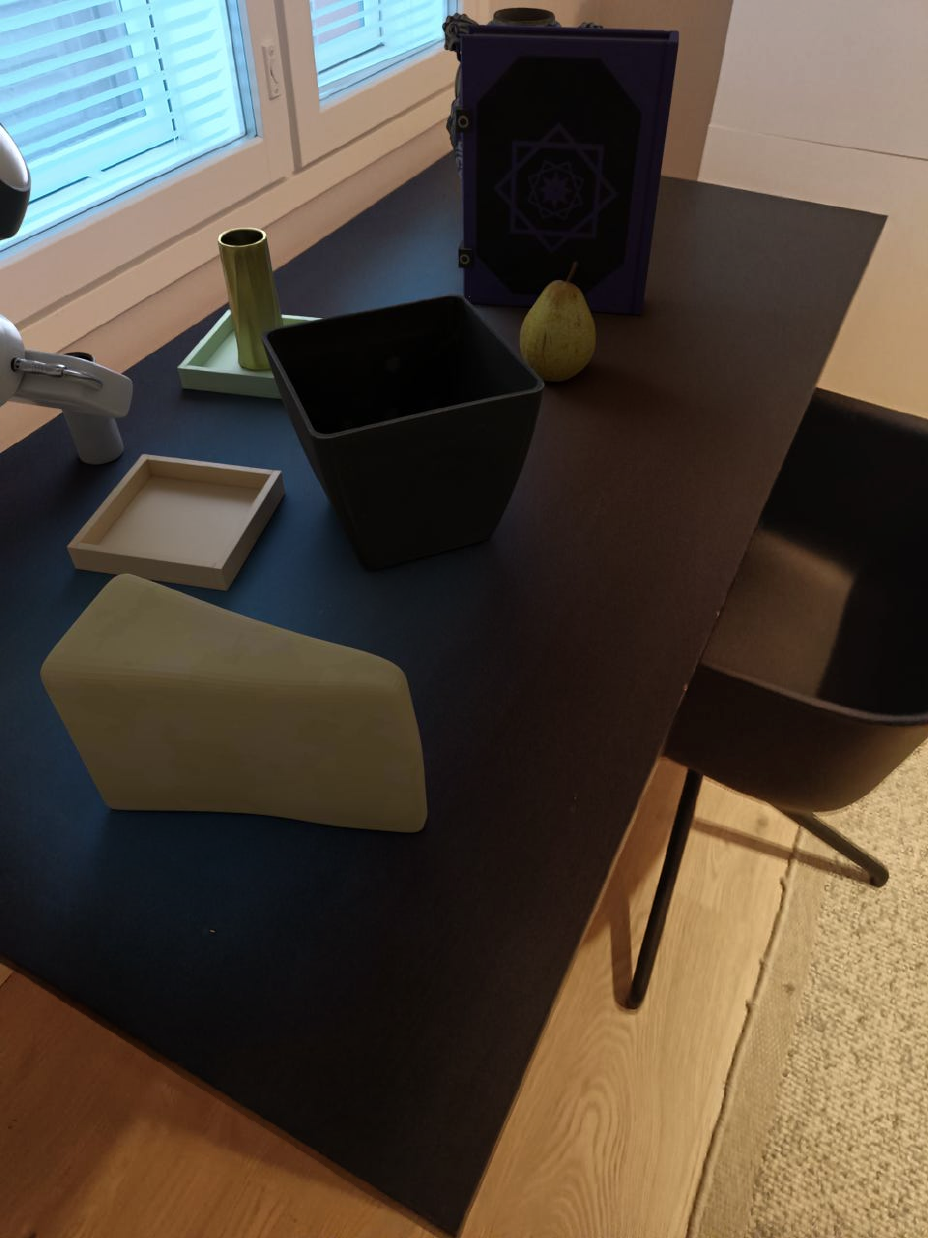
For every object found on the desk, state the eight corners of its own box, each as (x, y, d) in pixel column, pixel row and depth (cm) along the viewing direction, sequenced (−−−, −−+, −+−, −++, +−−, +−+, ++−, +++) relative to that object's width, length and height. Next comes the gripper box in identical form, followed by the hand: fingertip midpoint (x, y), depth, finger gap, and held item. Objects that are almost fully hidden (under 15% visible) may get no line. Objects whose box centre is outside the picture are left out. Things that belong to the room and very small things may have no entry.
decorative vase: (596, 220, 136) (617, 0, 117) (579, 270, 124) (599, 33, 104) (460, 209, 140) (458, -6, 120) (430, 257, 127) (422, 26, 108)
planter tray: (75, 568, 80) (66, 546, 79) (149, 475, 91) (142, 453, 89) (227, 591, 78) (221, 569, 76) (285, 492, 88) (281, 470, 86)
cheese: (446, 769, 64) (440, 622, 54) (403, 889, 58) (387, 748, 47) (170, 707, 69) (115, 560, 58) (102, 811, 62) (25, 667, 52)
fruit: (529, 394, 101) (534, 291, 92) (509, 355, 107) (512, 256, 99) (602, 385, 102) (614, 283, 94) (578, 348, 108) (587, 248, 100)
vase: (245, 375, 103) (220, 252, 93) (232, 352, 107) (207, 231, 97) (296, 364, 105) (277, 242, 95) (282, 341, 109) (262, 221, 99)
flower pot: (285, 484, 89) (256, 325, 77) (461, 443, 94) (459, 288, 82) (338, 606, 77) (314, 439, 65) (538, 551, 82) (549, 387, 70)
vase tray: (182, 388, 103) (177, 367, 101) (232, 328, 113) (228, 309, 111) (303, 401, 100) (299, 380, 98) (342, 339, 110) (340, 319, 109)
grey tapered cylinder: (71, 452, 94) (37, 362, 86) (111, 435, 96) (81, 346, 88) (91, 470, 91) (58, 379, 84) (132, 452, 93) (103, 363, 86)
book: (643, 295, 118) (679, 28, 97) (641, 317, 114) (678, 43, 93) (467, 283, 121) (465, 22, 100) (459, 304, 117) (455, 36, 96)
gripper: (83, 333, 72) (172, 381, 85) (-130, 305, 76) (-13, 355, 89) (69, 411, 72) (160, 447, 85) (-143, 378, 76) (-24, 418, 89)
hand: (70, 400), depth 87 cm, fingers open, 8 cm apart
